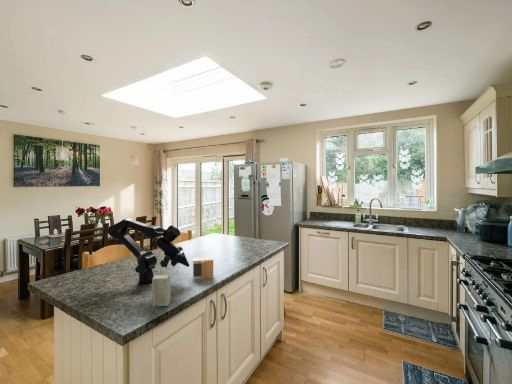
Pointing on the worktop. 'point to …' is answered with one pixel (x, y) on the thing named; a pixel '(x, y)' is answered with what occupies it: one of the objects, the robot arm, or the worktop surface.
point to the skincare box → (161, 290)
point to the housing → (198, 267)
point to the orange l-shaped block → (206, 269)
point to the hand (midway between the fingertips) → (188, 266)
